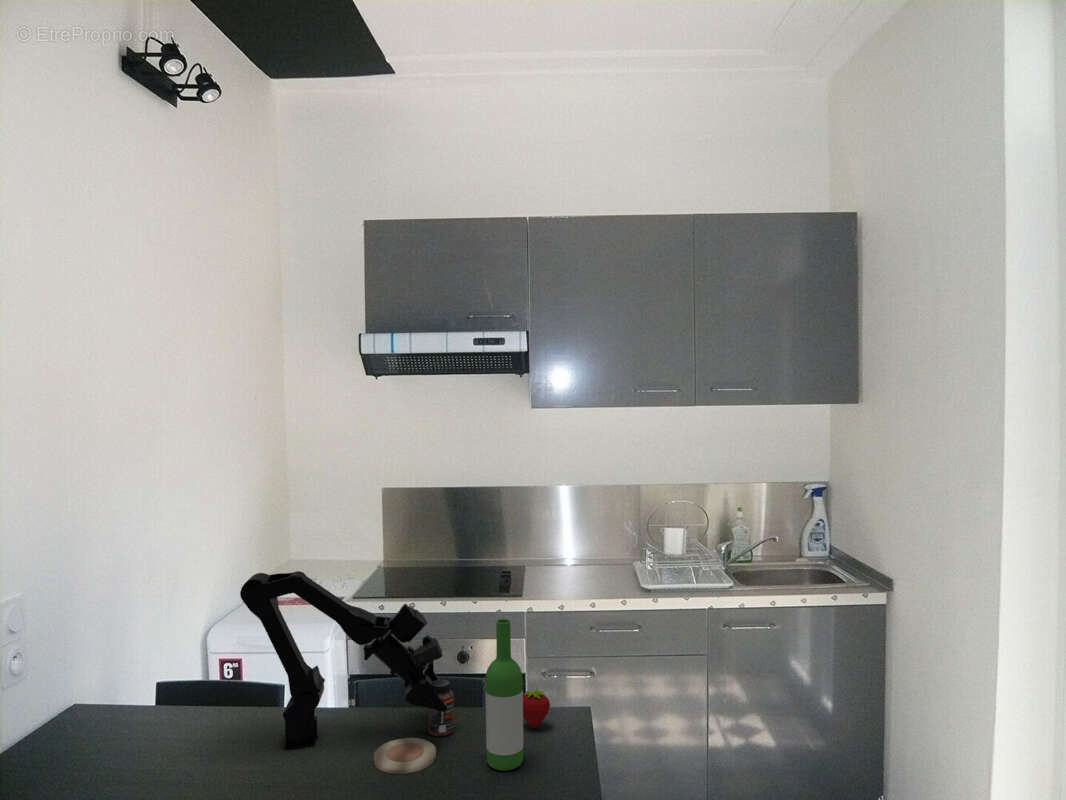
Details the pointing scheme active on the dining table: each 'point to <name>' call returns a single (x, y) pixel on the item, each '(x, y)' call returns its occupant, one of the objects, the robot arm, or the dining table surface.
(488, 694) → the wine bottle
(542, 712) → the strawberry
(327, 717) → the dining table surface
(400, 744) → the serving plate
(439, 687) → the supplement bottle
